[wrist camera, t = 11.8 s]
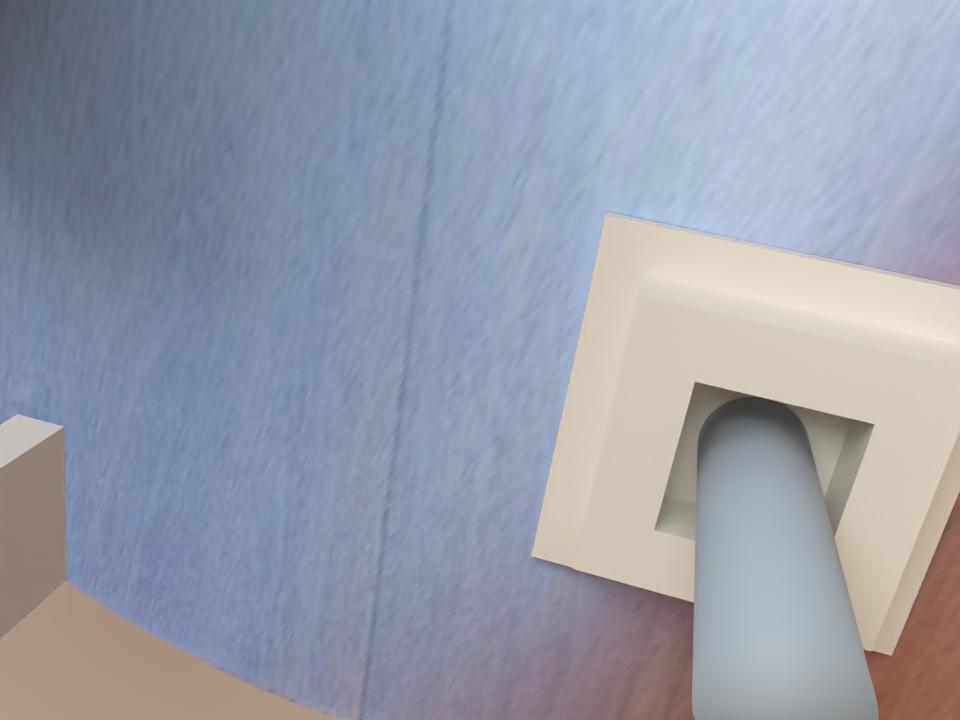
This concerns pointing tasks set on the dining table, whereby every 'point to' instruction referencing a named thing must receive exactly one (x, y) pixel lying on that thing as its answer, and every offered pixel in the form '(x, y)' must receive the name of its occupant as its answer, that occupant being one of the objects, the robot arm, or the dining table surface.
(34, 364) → the dining table surface
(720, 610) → the peg
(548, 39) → the dining table surface
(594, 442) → the socket
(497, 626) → the dining table surface
